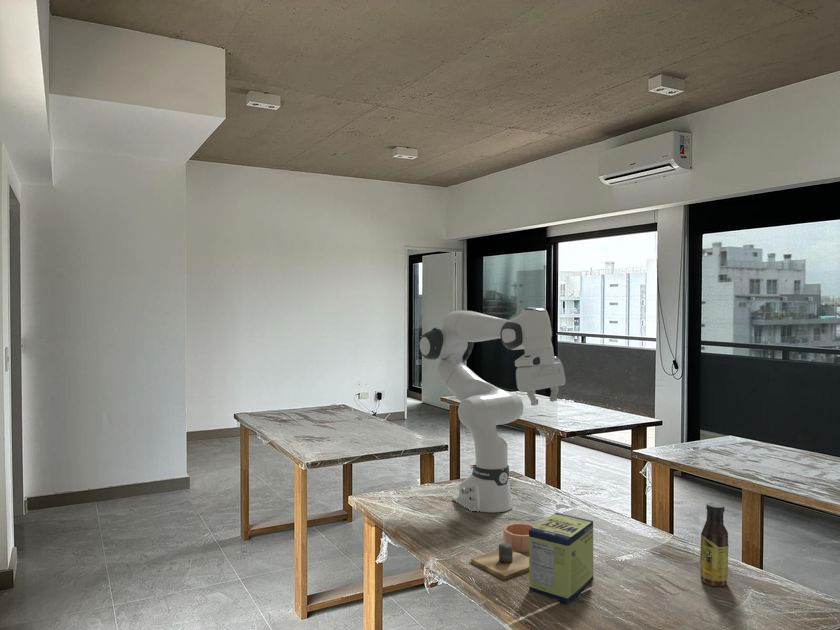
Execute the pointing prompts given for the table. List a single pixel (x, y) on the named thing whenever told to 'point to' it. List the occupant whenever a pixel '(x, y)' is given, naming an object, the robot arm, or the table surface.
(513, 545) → the bowl
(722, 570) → the sauce bottle
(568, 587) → the protein box
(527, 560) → the lid
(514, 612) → the table surface
